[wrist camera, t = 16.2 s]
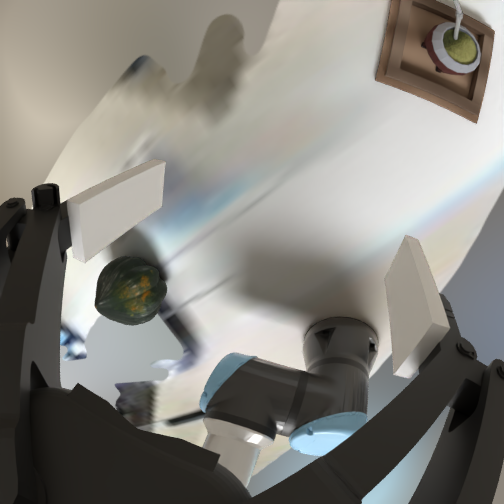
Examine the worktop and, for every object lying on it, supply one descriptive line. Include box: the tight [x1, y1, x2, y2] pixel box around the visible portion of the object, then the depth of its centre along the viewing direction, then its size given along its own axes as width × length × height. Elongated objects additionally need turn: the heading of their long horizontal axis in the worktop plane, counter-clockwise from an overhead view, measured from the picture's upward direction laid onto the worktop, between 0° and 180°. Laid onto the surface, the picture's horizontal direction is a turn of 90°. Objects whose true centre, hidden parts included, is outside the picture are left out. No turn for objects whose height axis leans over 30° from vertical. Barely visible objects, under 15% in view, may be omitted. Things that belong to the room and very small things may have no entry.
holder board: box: [375, 0, 495, 123], centre depth 27 cm, size 16×16×3 cm
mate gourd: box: [421, 0, 481, 76], centre depth 22 cm, size 8×8×15 cm
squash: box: [95, 256, 167, 325], centre depth 59 cm, size 14×15×15 cm
